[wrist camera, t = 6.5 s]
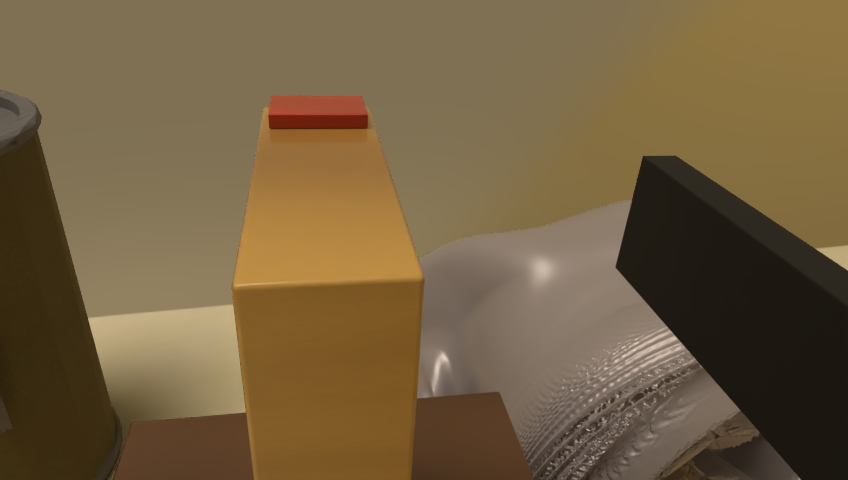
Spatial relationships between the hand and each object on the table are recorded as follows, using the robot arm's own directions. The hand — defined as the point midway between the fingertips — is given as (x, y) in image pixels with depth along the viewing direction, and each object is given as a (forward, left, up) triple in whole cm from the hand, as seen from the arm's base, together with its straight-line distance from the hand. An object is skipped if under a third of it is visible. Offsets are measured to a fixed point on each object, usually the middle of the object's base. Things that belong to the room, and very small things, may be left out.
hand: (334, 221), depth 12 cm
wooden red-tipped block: (+2, +2, -7) cm, 7 cm away
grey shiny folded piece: (-16, +2, -20) cm, 25 cm away
